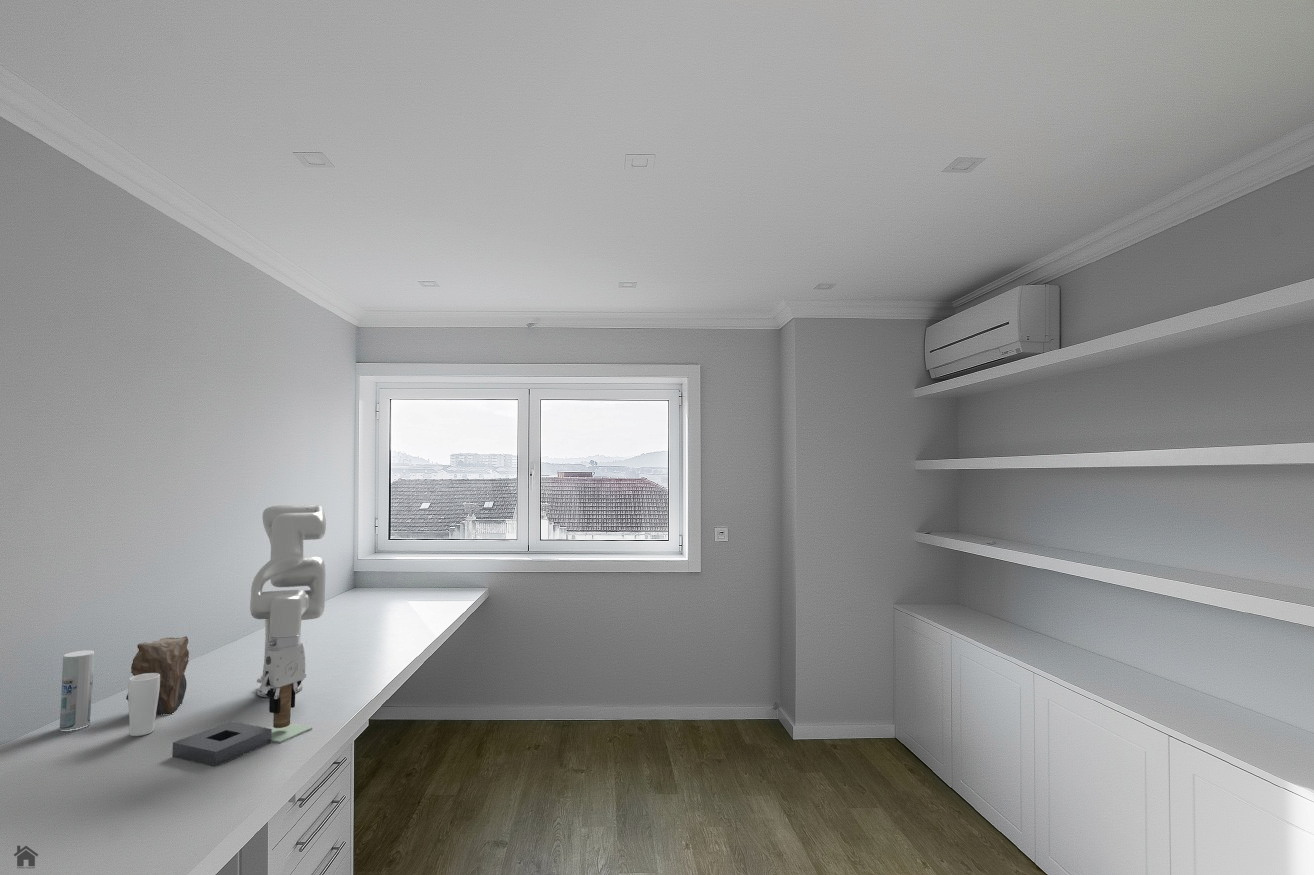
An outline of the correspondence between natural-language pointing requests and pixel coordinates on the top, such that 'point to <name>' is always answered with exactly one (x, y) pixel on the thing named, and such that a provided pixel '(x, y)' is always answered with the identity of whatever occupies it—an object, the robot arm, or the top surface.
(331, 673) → the top surface
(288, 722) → the tan rounded cylinder
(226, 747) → the dark grey socket block
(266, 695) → the robot arm
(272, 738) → the set down mat
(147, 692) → the drinking glass
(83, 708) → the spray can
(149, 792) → the top surface
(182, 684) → the jagged brown boulder
